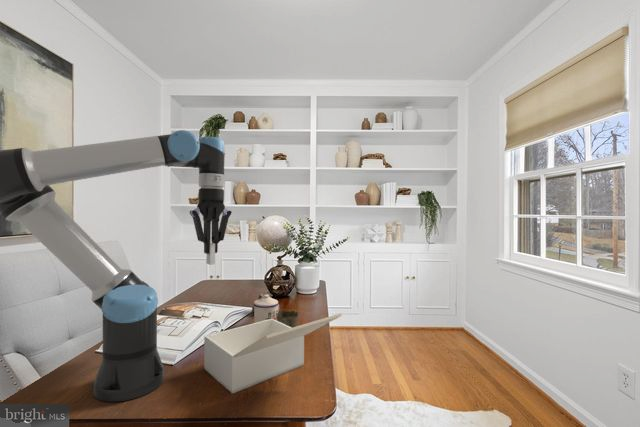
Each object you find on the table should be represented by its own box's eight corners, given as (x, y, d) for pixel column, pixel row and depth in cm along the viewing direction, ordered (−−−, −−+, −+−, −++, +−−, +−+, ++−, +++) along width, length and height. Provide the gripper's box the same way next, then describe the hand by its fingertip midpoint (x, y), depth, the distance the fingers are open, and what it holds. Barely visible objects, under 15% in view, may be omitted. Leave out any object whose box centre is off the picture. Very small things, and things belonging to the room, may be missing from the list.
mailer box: (232, 393, 79) (232, 356, 79) (204, 368, 91) (204, 336, 90) (303, 365, 94) (304, 333, 93) (271, 346, 105) (272, 318, 105)
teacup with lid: (267, 332, 117) (268, 299, 117) (248, 327, 122) (248, 295, 122) (287, 322, 128) (288, 292, 127) (269, 318, 132) (269, 289, 132)
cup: (284, 330, 120) (285, 308, 119) (301, 334, 116) (302, 311, 116) (271, 337, 113) (272, 313, 113) (289, 342, 109) (289, 317, 109)
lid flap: (233, 355, 78) (234, 358, 78) (266, 335, 68) (266, 338, 68) (305, 332, 93) (305, 334, 93) (341, 313, 83) (341, 315, 83)
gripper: (195, 186, 96) (194, 267, 97) (236, 188, 105) (235, 263, 105) (185, 187, 102) (185, 264, 102) (225, 189, 110) (224, 260, 111)
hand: (210, 263), depth 104 cm, fingers closed
